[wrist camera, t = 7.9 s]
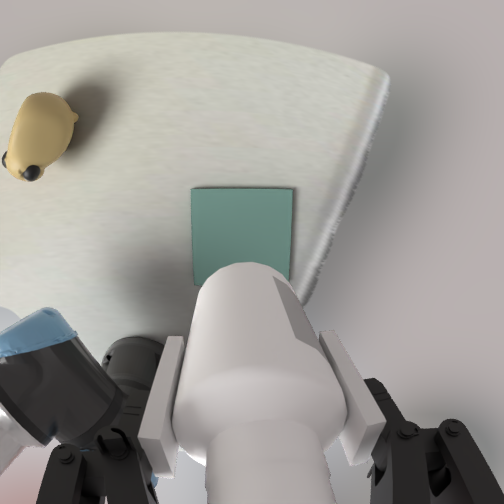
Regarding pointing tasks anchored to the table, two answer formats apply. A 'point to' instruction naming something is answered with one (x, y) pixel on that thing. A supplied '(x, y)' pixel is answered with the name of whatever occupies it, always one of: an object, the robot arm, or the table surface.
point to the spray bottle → (257, 392)
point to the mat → (240, 229)
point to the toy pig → (38, 135)
